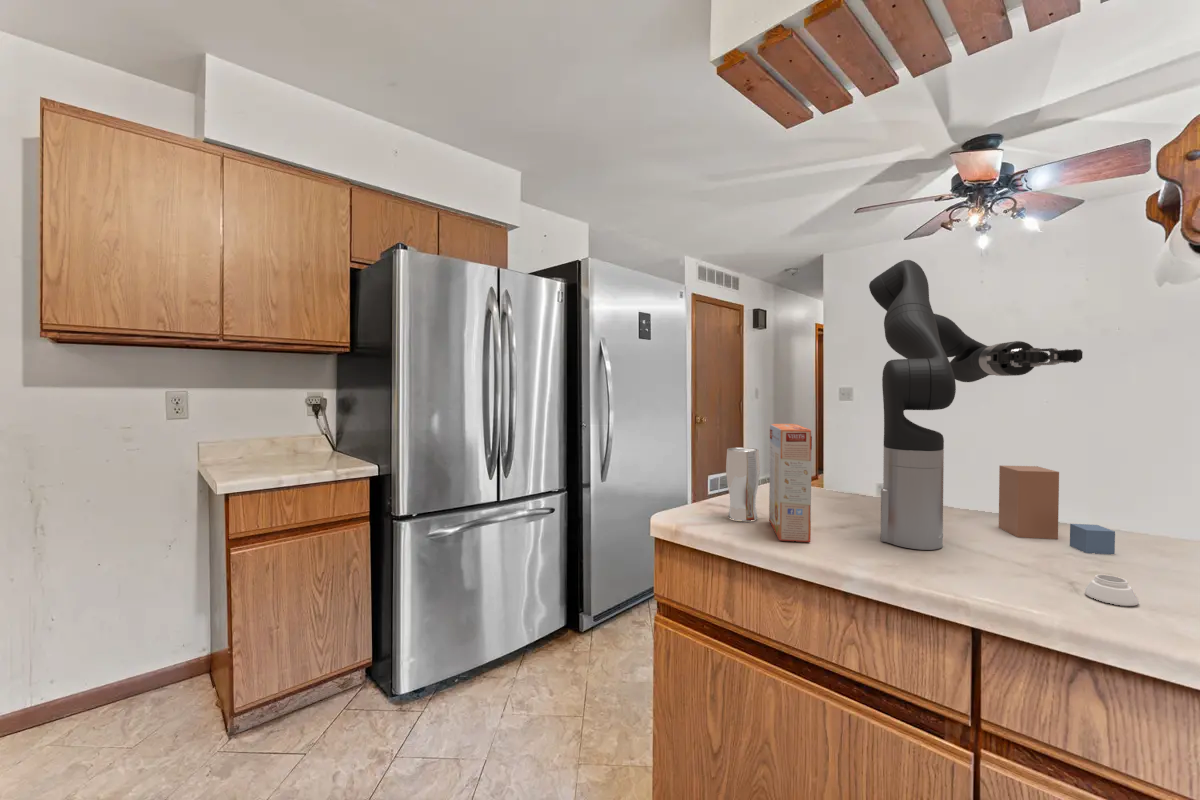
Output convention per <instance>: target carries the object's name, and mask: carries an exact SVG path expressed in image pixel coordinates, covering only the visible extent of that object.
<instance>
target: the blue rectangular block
mask: <svg viewBox="0 0 1200 800" xmlns="http://www.w3.org/2000/svg"><path fill="white" fill-rule="evenodd" d="M1069 547H1072V548H1074V549H1076V550H1078V551H1080V552H1082V551H1083V552H1082V553H1085V554H1092V553H1095V555H1111V554H1115V553H1116V551H1115V550H1116V549H1115V548H1116V531H1115V530H1112V529H1109V528H1107V527H1105V526H1101V525H1098V524H1089V523H1087V524H1085V523H1083V524H1081V523H1069ZM1115 555H1116V554H1115Z"/></svg>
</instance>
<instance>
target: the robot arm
mask: <svg viewBox="0 0 1200 800" xmlns="http://www.w3.org/2000/svg"><path fill="white" fill-rule="evenodd" d="M926 275H927V274H926V273H925V271H924V269H923V268H922V267H921V266H920V265H919V264H918V263H917V262H915V261H913V260H910V259H904V260H901V261H899V262H896V263H895V264H894V265H892V266H891V267H889V268H887V269H886V270H885V271H883V272H881V273H880V274H879V275H877V276H876V277H874V279H872V280H871V281H870V282H869V285H868V289H869V292H870V294H871V296H872V297H873V299H874V300H875V302H876V303H877V304H878V305H879V306H880V307H881V308H882V309H883V310H885V311H886V313H885V316H884V318H883V327H884V328H883V329H884V337H885V340H886V342H887V344H888V346H889V347H890V348H891V349H892V350H893V351H894V352H895V353H896V354H898V355H900V356H902V357H903V358H900V359H890V360H888V361H887V362H886V363H885V364H884V366H883V370H882V377H881V378H882V379H881V380H882V381H881V382H882V384H881V385H882V400H883V473H882V474H883V475H882V476H883V479H882V480H883V483H882V484H883V485H882V486H883V487H882V488H881V491H880V542H884V543H888V544H892V545H894V546H896V547H897V546H898V547H902V548H906V549H913V550H923V551H929V550H930V551H931V550H939V549H941V548H943V547H944V542H943V541H944V540H943V539H944V470H945V469H944V467H945V466H944V465H945V463H944V459H945V457H944V453H945V450H944V448H945V445H944V443H945V439H944V435H943V434H942V433H941V432H939V431H937V430H934V429H930V428H926V427H923V426H921V425H919V424H916V423H915V422H913V421H911V420H910V419H908V418H907V417H906V416H905V414H904V412H905V411H938V410H944V409H946V408H948V407H950V405H951V406H952V403H953V402H954V401H955V397H956V393H957V392H956V391H957V390H956V389H957V387H956V381H958V382H962V383H973V382H977V381H979V380H982V379H984V378H986V377H989V376H998V377H1008V376H1009V377H1010V376H1011V377H1012V376H1023V375H1026V374H1028V373H1030V372H1032V371H1033V370H1034V368H1035V367H1038V368H1039V367H1041V366H1055V365H1058V364H1065V363H1066V364H1069V363H1074V364H1075V363H1079V362H1080V361H1082V359H1083V350H1082V349H1079V348H1078V349H1077V348H1076V349H1075V348H1074V349H1068V348H1066V349H1062V350H1061V349H1057V348H1052V347H1051V348H1040V347H1033V345H1031V344H1029V343H1028V342H1025V341H1021V340H1015V341H1008V342H1002V343H996V344H993V345H986V344H985V343H981V341H980V342H979V341H977V340H975V339H973V338H972V337H970V335H968V334H966V333H965V332H964V331H963V330H962V329H961V328H960V327H959V326H958V325H957V323H956V322H954V321H953V320H952V319H950V318H948V317H947V316H945V315H942V314H937V313H934V311H933V309H932V308H933V307H932V305H931V301H930V289H929V287H930V286H929V281H928V277H927V276H926ZM1048 352H1049V353H1048ZM949 358H953V359H951V361H950V360H949Z"/></svg>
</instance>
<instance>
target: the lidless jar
mask: <svg viewBox="0 0 1200 800" xmlns="http://www.w3.org/2000/svg"><path fill="white" fill-rule="evenodd" d="M1084 594H1085V595H1087V597H1089V598H1091V599H1093V598H1094V599H1093V600H1095V599H1096V601H1098V600H1099V601H1098V602H1100V601H1102V602H1101V603H1104V602H1105V603H1104V604H1107V603H1110V604H1109V605H1112V604H1114V605H1113V606H1118V605H1120V607H1133V606H1137V605H1139V604H1140V603H1139V602H1140V601H1139V597H1138V596H1137V595H1136V593H1135V591H1134V589H1133V588H1132V587H1131V586H1130V585H1129V582H1128V580H1127V579H1126V578H1123V577H1119V576H1115V575H1112V574H1111V575H1110V574H1104V573H1103V574H1095V575H1094V579H1091V580H1090V581H1089V583H1088V584H1087V585H1086V586H1085V588H1084Z"/></svg>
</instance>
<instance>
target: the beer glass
mask: <svg viewBox="0 0 1200 800" xmlns="http://www.w3.org/2000/svg"><path fill="white" fill-rule="evenodd" d="M759 453H760V452H759V449H757V448H750V447H730V448H729V447H728V448H727V449H726V463H725V464H726V465H725V472H726V473H725V475H726V483H727V488H728V493H729V502H730V503H729V508H728V509H729V510H728V516H727V517H729V518H731V519H734V520H742V521H751V520H755V519H757V518H759V517H758V512H757V507H756V501H757V494H758V489H759V482H760V471H761V470H760V468H761V467H760V466H761V465H760V464H761V463H760V455H759ZM729 518H728V519H729ZM757 520H758V519H757Z"/></svg>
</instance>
